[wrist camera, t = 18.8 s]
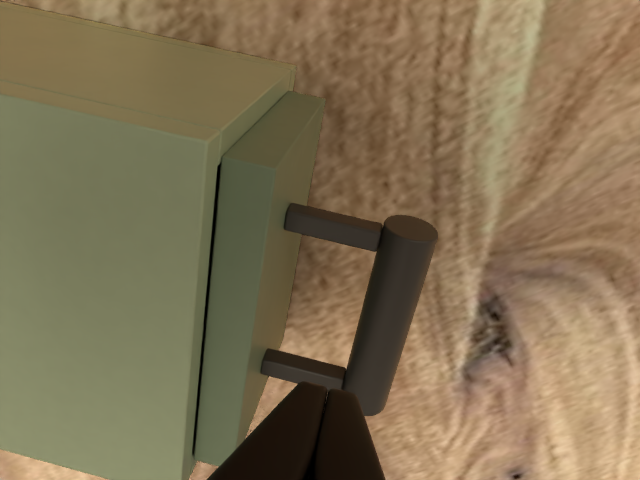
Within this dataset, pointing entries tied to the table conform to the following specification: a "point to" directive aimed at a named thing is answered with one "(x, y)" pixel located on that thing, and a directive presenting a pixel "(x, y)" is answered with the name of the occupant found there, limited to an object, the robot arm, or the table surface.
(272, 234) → the drawer
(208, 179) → the cabinet
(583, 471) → the table surface
